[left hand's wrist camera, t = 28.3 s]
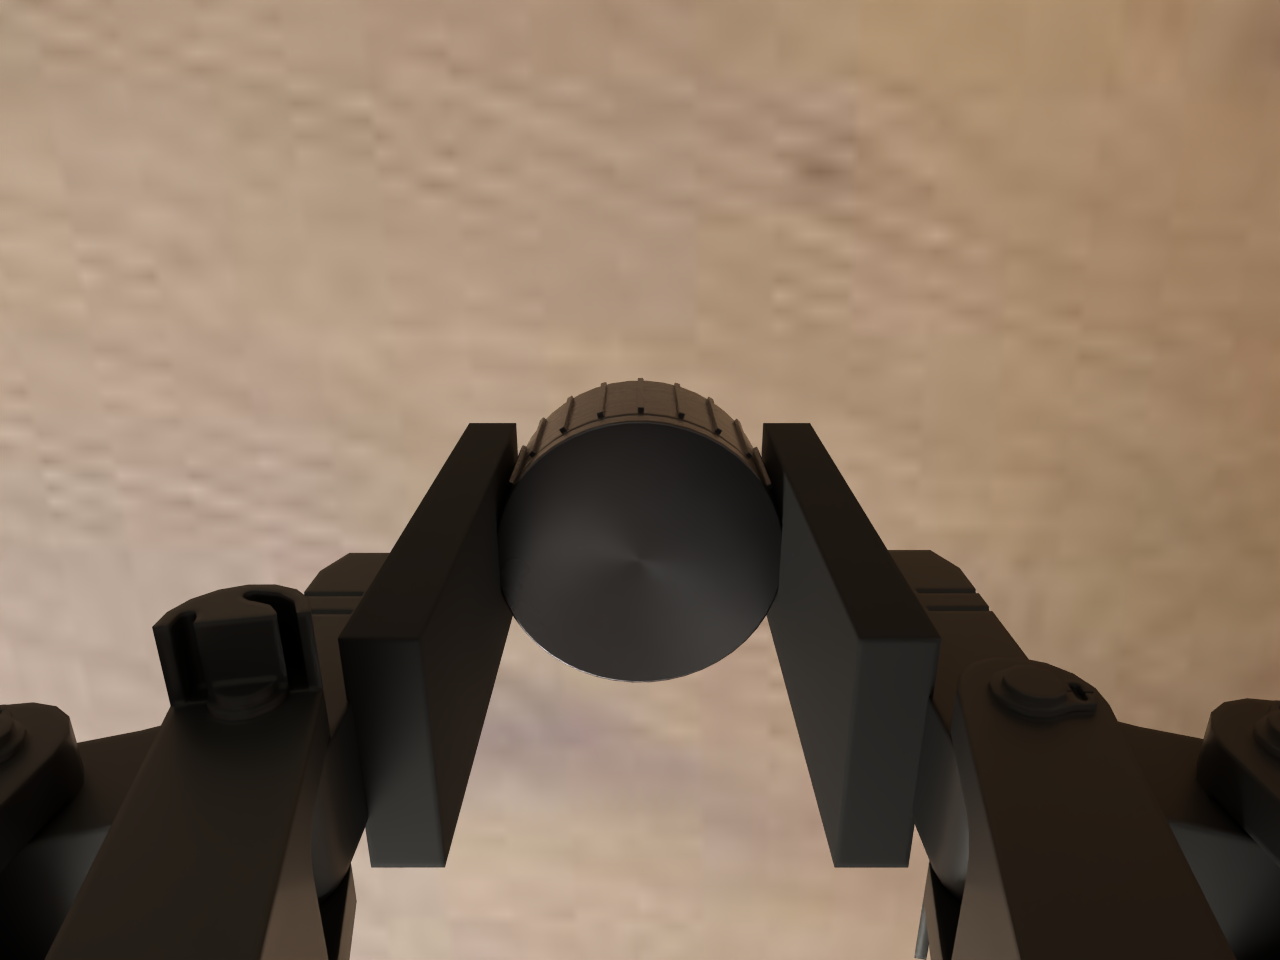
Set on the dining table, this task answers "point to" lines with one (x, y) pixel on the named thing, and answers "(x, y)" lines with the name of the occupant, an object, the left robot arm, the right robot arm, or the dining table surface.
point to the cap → (639, 533)
